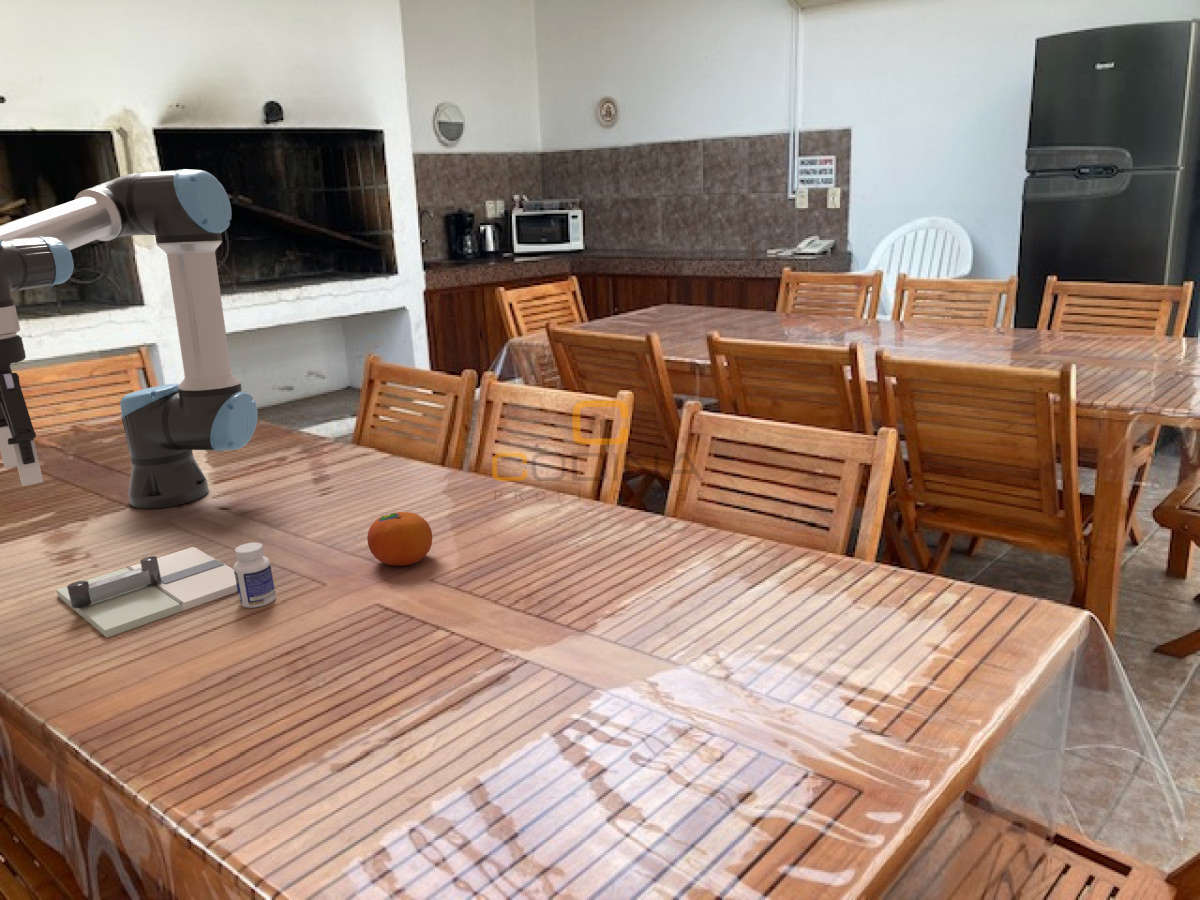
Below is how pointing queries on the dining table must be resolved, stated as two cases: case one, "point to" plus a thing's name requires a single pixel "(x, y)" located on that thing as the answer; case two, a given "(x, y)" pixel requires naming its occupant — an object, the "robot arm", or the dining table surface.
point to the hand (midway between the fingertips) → (23, 475)
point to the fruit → (400, 538)
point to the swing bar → (115, 584)
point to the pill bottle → (253, 576)
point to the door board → (159, 592)
